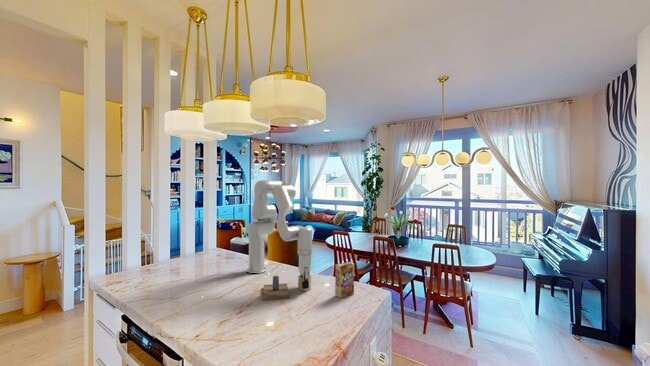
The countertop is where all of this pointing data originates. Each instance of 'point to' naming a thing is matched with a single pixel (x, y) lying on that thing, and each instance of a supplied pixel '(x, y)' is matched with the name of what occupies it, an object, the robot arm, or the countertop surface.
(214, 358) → the countertop surface
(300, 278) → the wooden cup
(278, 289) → the post stand
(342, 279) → the candy box
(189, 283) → the countertop surface
